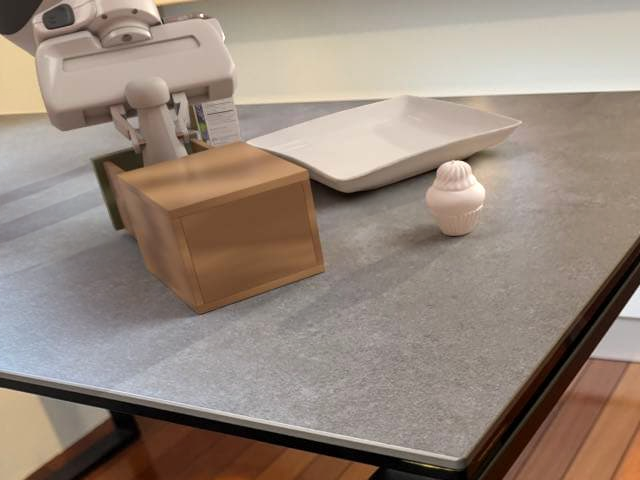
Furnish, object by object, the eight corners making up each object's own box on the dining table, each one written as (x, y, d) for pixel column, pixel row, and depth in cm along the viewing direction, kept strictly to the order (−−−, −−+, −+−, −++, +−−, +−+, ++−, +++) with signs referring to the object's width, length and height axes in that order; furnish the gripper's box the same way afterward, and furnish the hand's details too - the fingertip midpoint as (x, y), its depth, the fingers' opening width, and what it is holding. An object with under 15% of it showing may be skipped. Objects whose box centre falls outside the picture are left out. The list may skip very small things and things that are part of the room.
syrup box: (201, 146, 122) (173, 36, 113) (240, 139, 123) (215, 28, 114) (206, 156, 118) (177, 41, 108) (246, 148, 119) (220, 33, 109)
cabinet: (146, 268, 86) (115, 174, 80) (261, 232, 91) (240, 140, 84) (199, 315, 75) (168, 210, 69) (325, 271, 80) (307, 169, 74)
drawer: (101, 218, 98) (78, 150, 93) (196, 191, 102) (178, 124, 97) (153, 262, 85) (128, 185, 80) (259, 228, 89) (242, 153, 84)
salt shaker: (181, 221, 87) (143, 86, 79) (142, 217, 89) (102, 86, 81) (215, 202, 91) (183, 72, 82) (177, 199, 93) (142, 71, 85)
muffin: (499, 225, 84) (496, 154, 80) (460, 245, 81) (455, 173, 77) (455, 216, 88) (450, 147, 83) (416, 234, 85) (409, 164, 80)
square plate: (408, 119, 121) (406, 90, 118) (526, 151, 103) (526, 118, 100) (246, 166, 111) (239, 136, 109) (344, 211, 93) (338, 176, 90)
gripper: (215, 31, 91) (256, 142, 91) (30, 65, 87) (72, 182, 86) (213, -13, 85) (257, 106, 84) (14, 21, 80) (58, 147, 80)
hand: (162, 145), depth 85 cm, fingers closed on salt shaker, 3 cm apart
